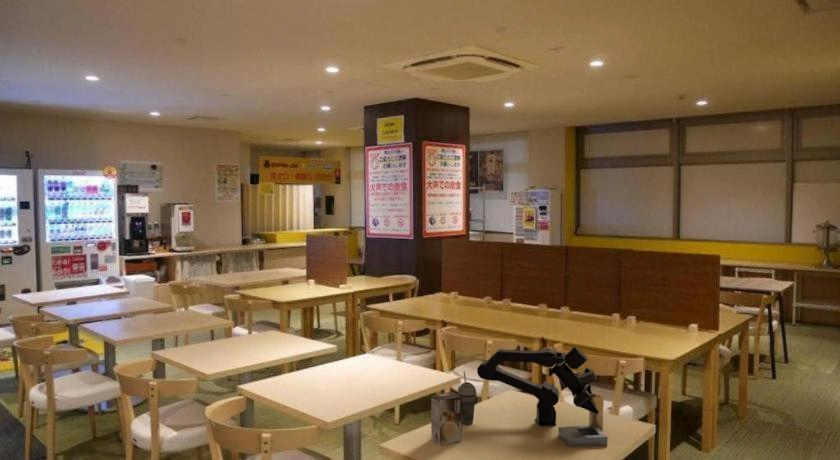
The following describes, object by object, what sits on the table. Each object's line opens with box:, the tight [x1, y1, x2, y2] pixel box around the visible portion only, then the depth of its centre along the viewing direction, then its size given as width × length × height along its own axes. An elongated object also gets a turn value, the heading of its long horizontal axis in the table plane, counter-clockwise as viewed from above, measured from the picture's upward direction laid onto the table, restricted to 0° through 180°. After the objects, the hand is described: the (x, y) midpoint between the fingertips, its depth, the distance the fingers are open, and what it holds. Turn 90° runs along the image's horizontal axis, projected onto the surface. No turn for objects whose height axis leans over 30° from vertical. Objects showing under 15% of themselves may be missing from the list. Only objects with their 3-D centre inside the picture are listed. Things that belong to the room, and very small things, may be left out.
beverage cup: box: [457, 370, 478, 427], centre depth 226 cm, size 7×7×20 cm
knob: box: [588, 392, 605, 431], centre depth 222 cm, size 5×5×13 cm
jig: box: [557, 425, 608, 448], centre depth 212 cm, size 14×10×3 cm
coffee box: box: [430, 391, 463, 446], centre depth 210 cm, size 9×6×16 cm
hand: (597, 408), depth 222 cm, fingers open, 9 cm apart
